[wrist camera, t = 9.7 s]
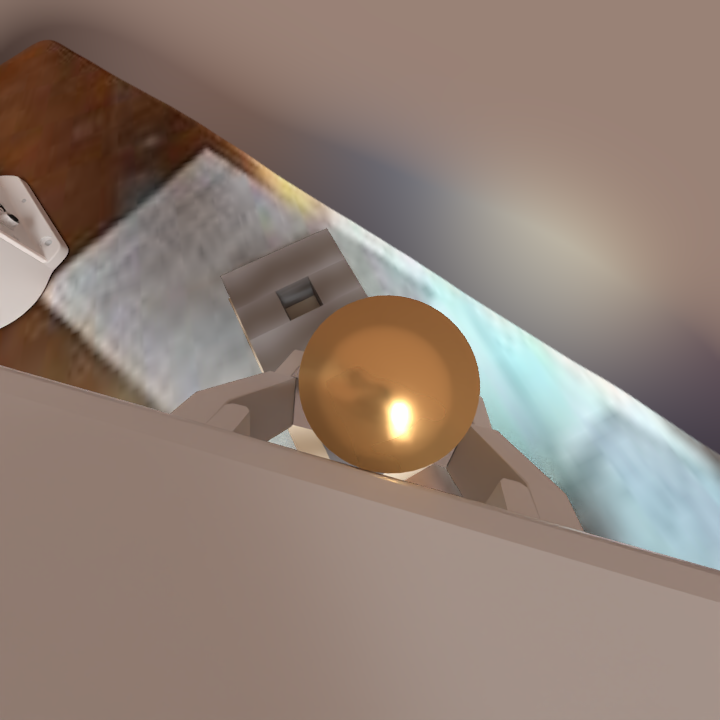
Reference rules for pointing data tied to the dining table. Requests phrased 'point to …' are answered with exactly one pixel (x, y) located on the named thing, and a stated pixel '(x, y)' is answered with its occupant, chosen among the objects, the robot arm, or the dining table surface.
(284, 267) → the stand
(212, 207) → the dining table surface
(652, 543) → the dining table surface
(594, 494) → the dining table surface
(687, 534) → the dining table surface
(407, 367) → the amber rounded cylinder
